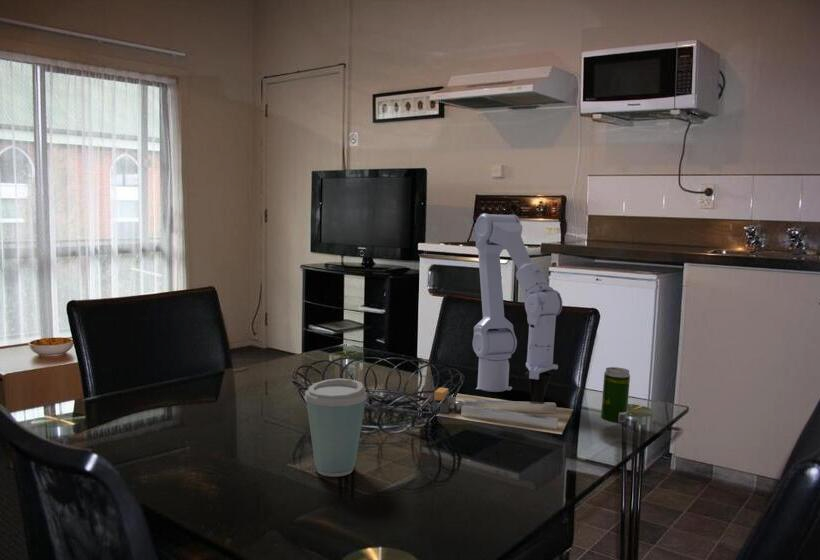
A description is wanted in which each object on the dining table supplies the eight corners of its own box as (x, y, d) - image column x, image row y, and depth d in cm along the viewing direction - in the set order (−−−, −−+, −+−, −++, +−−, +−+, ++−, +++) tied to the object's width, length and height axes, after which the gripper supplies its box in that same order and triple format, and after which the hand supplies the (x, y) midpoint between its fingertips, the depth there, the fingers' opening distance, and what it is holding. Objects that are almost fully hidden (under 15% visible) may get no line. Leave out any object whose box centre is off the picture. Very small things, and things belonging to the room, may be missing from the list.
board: (453, 398, 170) (454, 393, 170) (572, 414, 161) (573, 409, 161) (429, 419, 152) (429, 414, 152) (561, 439, 143) (561, 434, 143)
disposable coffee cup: (339, 487, 115) (342, 397, 113) (288, 471, 120) (290, 385, 119) (376, 468, 124) (380, 384, 122) (327, 454, 129) (330, 373, 128)
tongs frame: (440, 405, 159) (440, 395, 159) (560, 423, 150) (561, 411, 150) (432, 412, 154) (432, 401, 154) (556, 430, 145) (557, 419, 145)
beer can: (631, 424, 155) (635, 371, 154) (616, 429, 152) (620, 374, 150) (610, 418, 159) (614, 365, 158) (595, 422, 156) (599, 368, 155)
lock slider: (439, 395, 158) (439, 387, 158) (448, 396, 157) (448, 388, 157) (434, 399, 154) (434, 391, 154) (442, 400, 154) (443, 392, 153)
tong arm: (453, 408, 157) (453, 398, 157) (553, 411, 158) (554, 402, 158) (454, 412, 154) (455, 403, 153) (557, 415, 155) (558, 406, 154)
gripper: (554, 352, 151) (550, 414, 152) (563, 340, 165) (559, 397, 166) (521, 348, 153) (517, 410, 155) (532, 337, 167) (529, 394, 168)
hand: (537, 403), depth 161 cm, fingers closed
